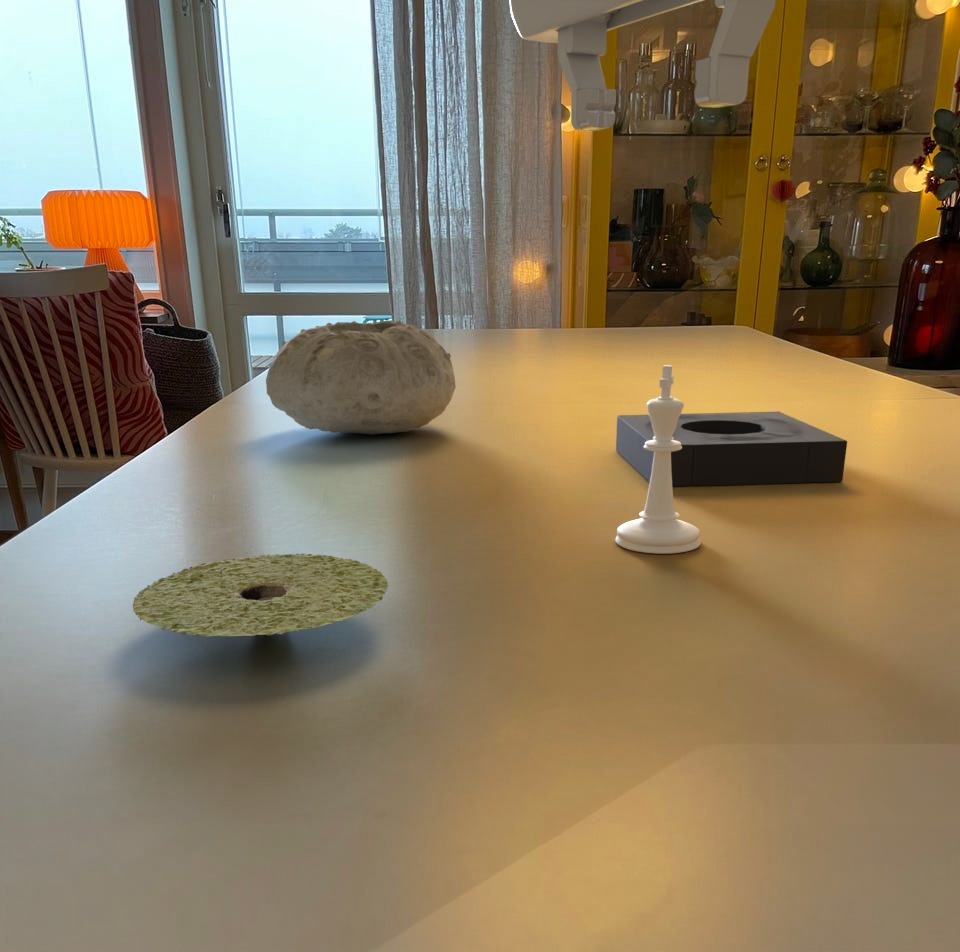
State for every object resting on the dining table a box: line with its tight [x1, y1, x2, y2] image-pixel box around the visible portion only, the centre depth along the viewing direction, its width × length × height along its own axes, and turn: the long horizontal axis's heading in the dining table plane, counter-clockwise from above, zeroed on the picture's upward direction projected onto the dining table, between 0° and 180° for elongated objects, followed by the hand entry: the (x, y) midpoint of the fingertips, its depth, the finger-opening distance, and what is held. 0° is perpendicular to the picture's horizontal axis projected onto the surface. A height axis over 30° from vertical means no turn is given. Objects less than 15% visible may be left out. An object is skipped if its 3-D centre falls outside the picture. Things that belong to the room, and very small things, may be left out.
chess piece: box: [614, 364, 702, 555], centre depth 55 cm, size 5×5×10 cm
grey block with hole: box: [615, 411, 848, 488], centre depth 76 cm, size 14×14×3 cm
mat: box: [132, 553, 389, 638], centre depth 44 cm, size 11×11×2 cm
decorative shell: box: [265, 320, 456, 435], centre depth 92 cm, size 18×18×10 cm
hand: (651, 118), depth 46 cm, fingers open, 8 cm apart
